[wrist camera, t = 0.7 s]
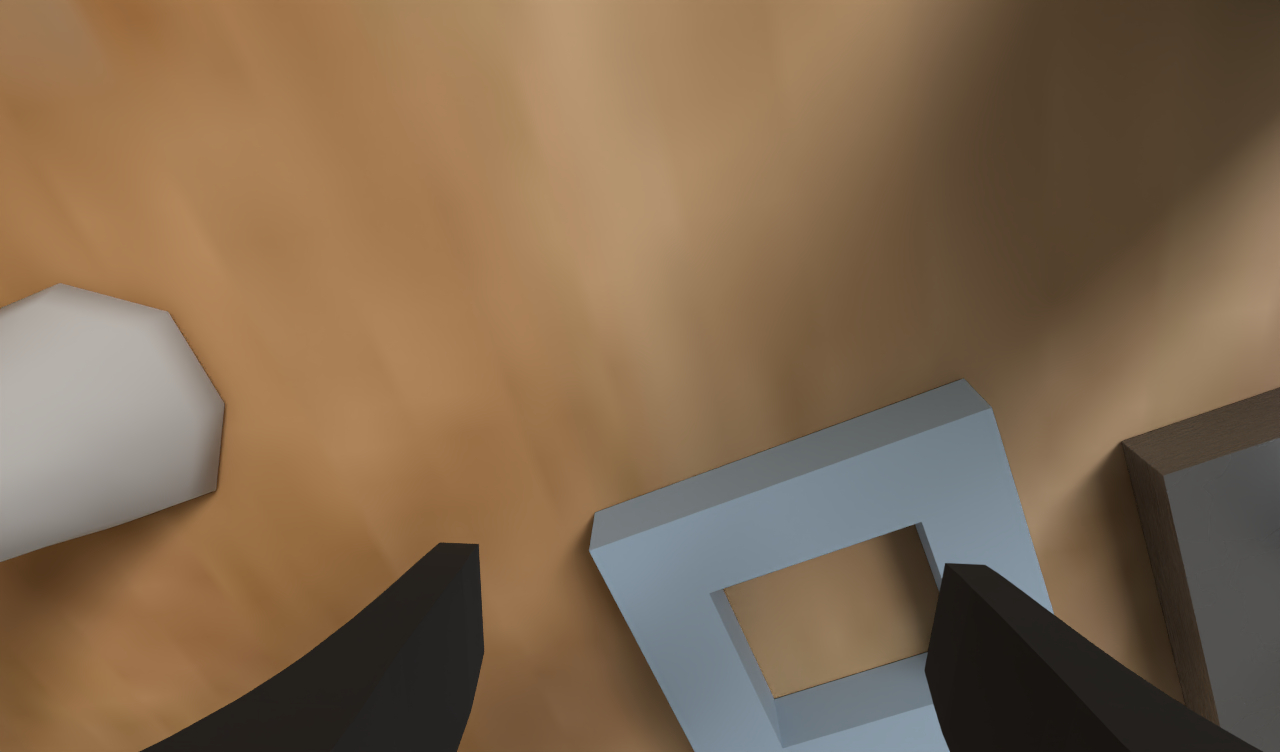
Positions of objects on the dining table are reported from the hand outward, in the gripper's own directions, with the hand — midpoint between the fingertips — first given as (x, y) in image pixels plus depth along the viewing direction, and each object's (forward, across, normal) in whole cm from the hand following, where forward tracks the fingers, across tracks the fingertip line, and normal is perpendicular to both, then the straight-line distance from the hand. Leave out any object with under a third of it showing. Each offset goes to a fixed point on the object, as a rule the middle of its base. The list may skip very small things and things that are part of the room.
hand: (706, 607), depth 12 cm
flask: (+10, +16, +2) cm, 20 cm away
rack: (+10, -5, +7) cm, 13 cm away
